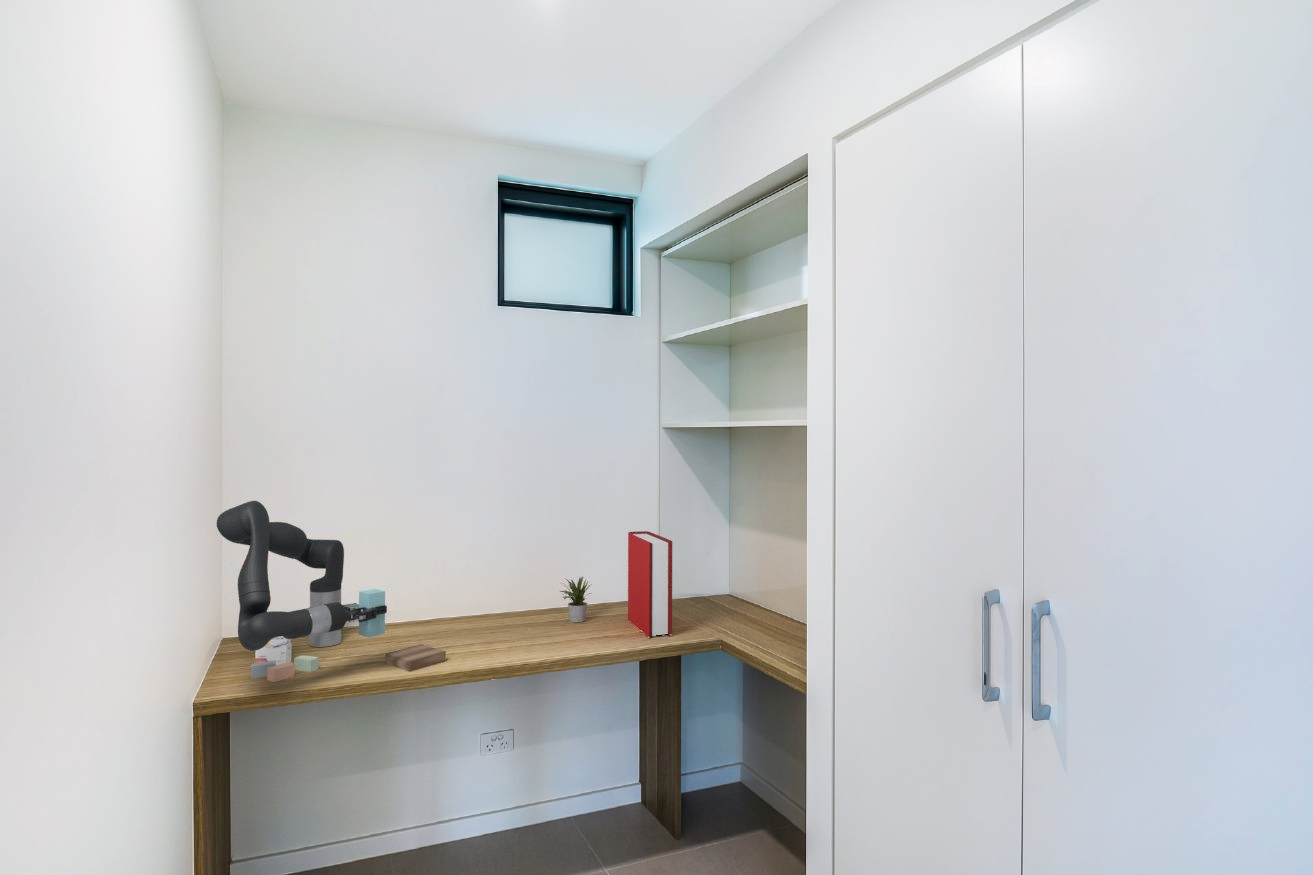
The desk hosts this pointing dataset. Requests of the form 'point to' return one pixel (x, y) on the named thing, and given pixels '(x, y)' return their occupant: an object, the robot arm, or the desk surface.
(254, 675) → the slate brick
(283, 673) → the terracotta brick
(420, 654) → the walnut block
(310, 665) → the sage brick
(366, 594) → the tall teal brick
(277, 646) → the ink cartridge box
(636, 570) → the book
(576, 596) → the house plant
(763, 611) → the desk surface
